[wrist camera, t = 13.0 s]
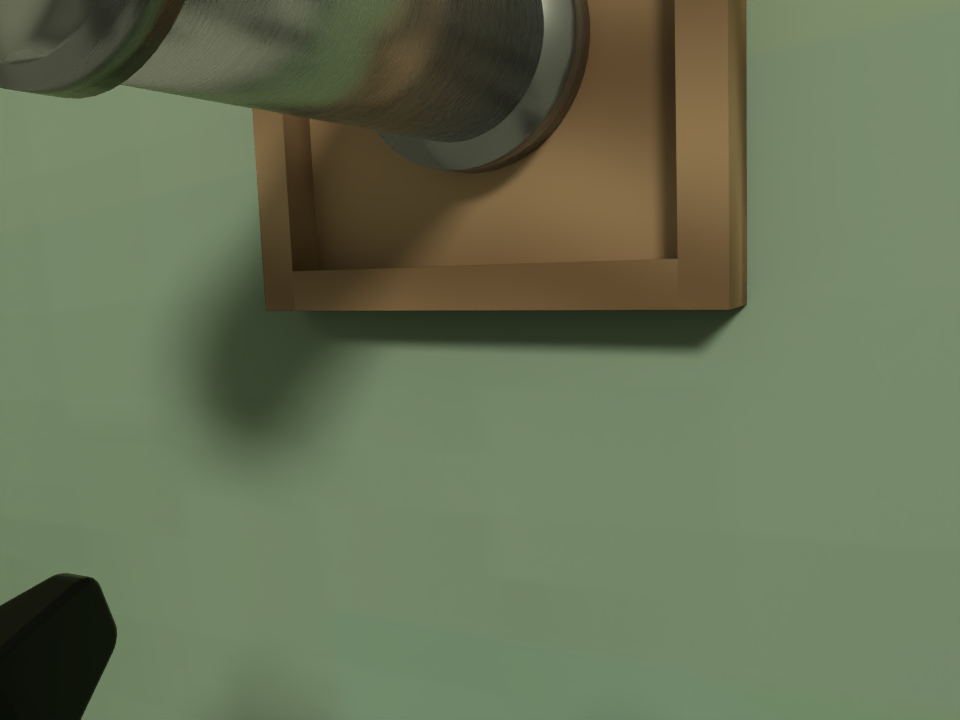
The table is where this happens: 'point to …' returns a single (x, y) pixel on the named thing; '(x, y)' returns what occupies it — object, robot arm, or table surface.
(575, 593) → the table surface
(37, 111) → the table surface
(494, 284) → the walnut keeper tray
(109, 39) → the glass jar
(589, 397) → the table surface
